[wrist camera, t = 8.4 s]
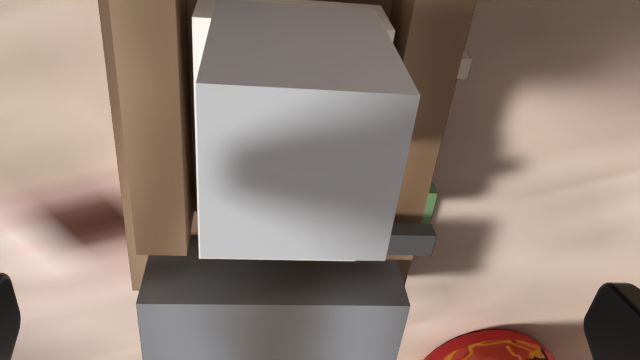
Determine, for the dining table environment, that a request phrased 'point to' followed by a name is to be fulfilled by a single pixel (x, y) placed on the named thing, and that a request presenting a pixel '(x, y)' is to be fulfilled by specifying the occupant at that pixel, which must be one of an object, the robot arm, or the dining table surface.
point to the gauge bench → (249, 274)
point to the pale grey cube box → (301, 132)
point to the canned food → (491, 347)
